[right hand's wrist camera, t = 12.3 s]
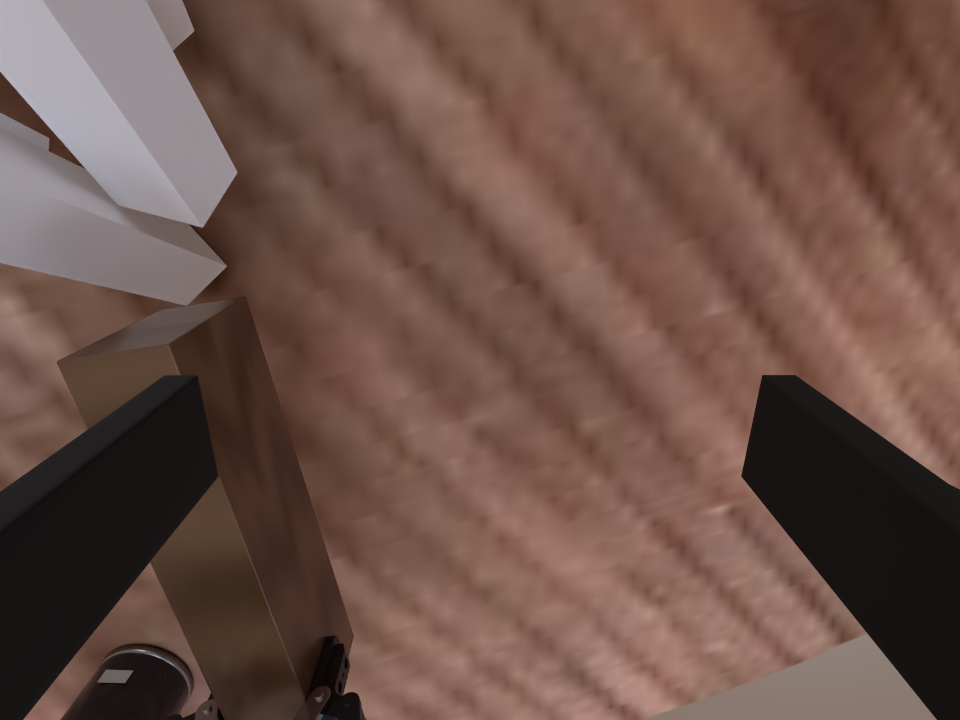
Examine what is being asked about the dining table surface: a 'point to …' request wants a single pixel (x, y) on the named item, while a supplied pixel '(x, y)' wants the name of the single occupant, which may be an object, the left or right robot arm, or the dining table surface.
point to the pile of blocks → (108, 148)
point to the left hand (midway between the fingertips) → (293, 651)
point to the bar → (230, 509)
